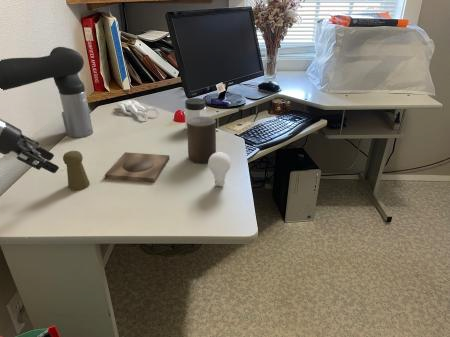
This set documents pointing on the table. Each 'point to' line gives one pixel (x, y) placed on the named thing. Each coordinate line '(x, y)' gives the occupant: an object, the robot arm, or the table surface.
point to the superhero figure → (135, 108)
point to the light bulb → (219, 167)
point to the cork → (75, 171)
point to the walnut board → (138, 167)
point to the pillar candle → (201, 138)
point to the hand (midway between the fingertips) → (54, 163)
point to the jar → (194, 108)
